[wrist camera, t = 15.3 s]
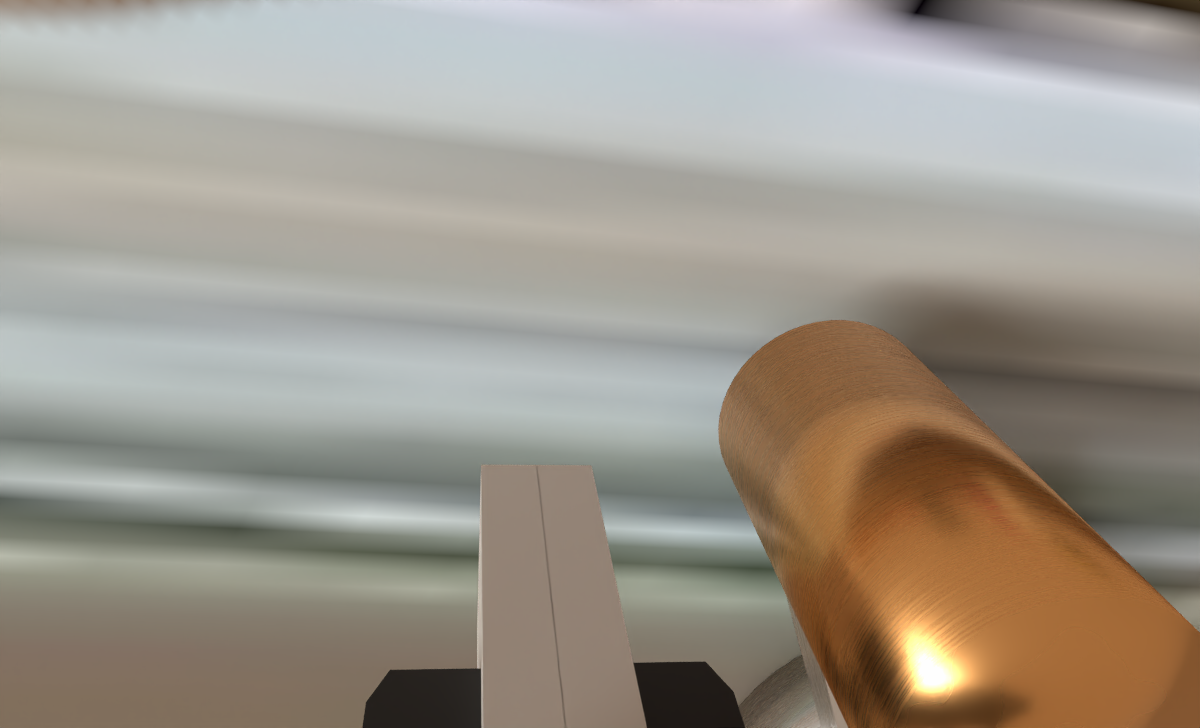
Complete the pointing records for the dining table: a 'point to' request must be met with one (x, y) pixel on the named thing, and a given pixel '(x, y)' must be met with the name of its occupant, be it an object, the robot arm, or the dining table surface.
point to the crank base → (782, 700)
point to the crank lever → (937, 554)
